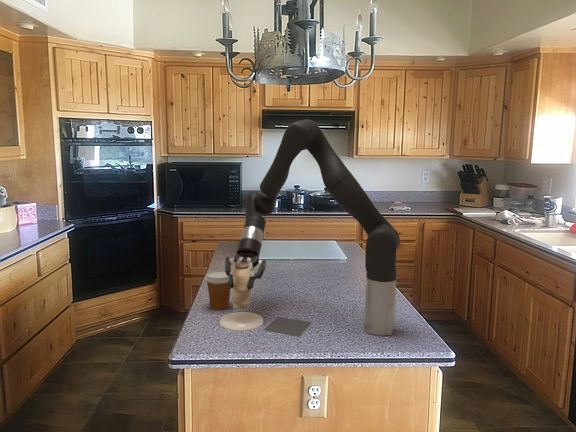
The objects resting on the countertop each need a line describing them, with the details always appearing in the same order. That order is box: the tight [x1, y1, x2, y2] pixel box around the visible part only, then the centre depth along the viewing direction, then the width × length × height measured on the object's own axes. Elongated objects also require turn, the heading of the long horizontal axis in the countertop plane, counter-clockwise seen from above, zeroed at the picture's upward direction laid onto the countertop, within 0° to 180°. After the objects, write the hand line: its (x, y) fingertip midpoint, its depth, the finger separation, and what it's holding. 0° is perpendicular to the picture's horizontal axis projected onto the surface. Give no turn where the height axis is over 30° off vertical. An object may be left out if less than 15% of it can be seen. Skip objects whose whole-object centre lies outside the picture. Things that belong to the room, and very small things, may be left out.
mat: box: [263, 316, 313, 338], centre depth 150 cm, size 12×12×1 cm
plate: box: [219, 311, 264, 332], centre depth 152 cm, size 14×14×1 cm
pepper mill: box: [232, 262, 251, 310], centre depth 150 cm, size 5×5×14 cm
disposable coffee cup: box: [205, 270, 232, 311], centre depth 165 cm, size 10×10×12 cm
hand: (239, 288), depth 148 cm, fingers closed on pepper mill, 5 cm apart
